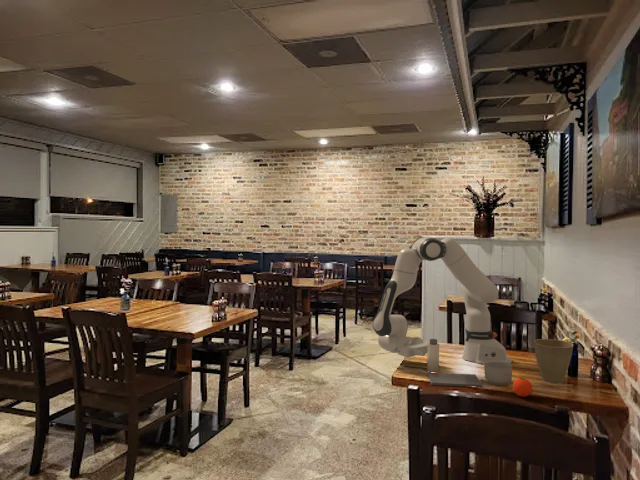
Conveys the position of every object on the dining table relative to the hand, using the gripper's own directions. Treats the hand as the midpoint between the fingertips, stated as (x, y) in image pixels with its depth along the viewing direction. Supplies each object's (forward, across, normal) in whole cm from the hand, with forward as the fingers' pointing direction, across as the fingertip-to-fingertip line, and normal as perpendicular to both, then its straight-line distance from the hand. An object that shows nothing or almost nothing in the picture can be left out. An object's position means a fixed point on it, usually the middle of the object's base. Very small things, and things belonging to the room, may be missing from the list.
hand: (430, 352), depth 217 cm
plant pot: (+40, +29, +8) cm, 50 cm away
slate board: (+15, -4, +8) cm, 18 cm away
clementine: (+42, +1, +8) cm, 43 cm away
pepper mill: (+1, 0, +8) cm, 8 cm away
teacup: (+28, +9, +8) cm, 30 cm away
